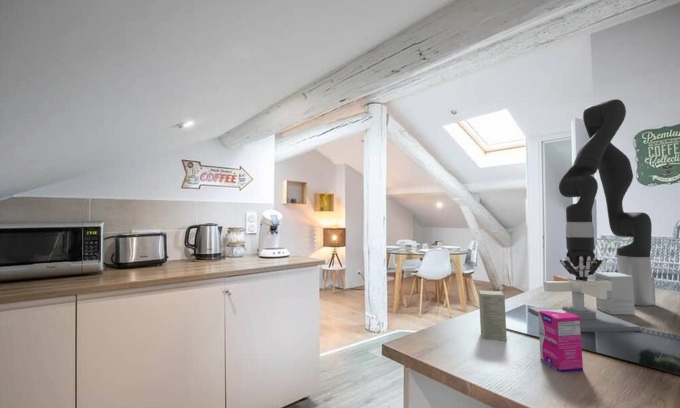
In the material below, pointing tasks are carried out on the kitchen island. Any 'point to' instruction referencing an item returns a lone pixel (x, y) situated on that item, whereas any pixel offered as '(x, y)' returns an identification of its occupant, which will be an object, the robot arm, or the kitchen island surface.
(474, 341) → the kitchen island surface
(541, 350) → the supplement box
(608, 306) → the supplement box
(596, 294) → the star cap
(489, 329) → the skincare box
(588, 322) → the post board
